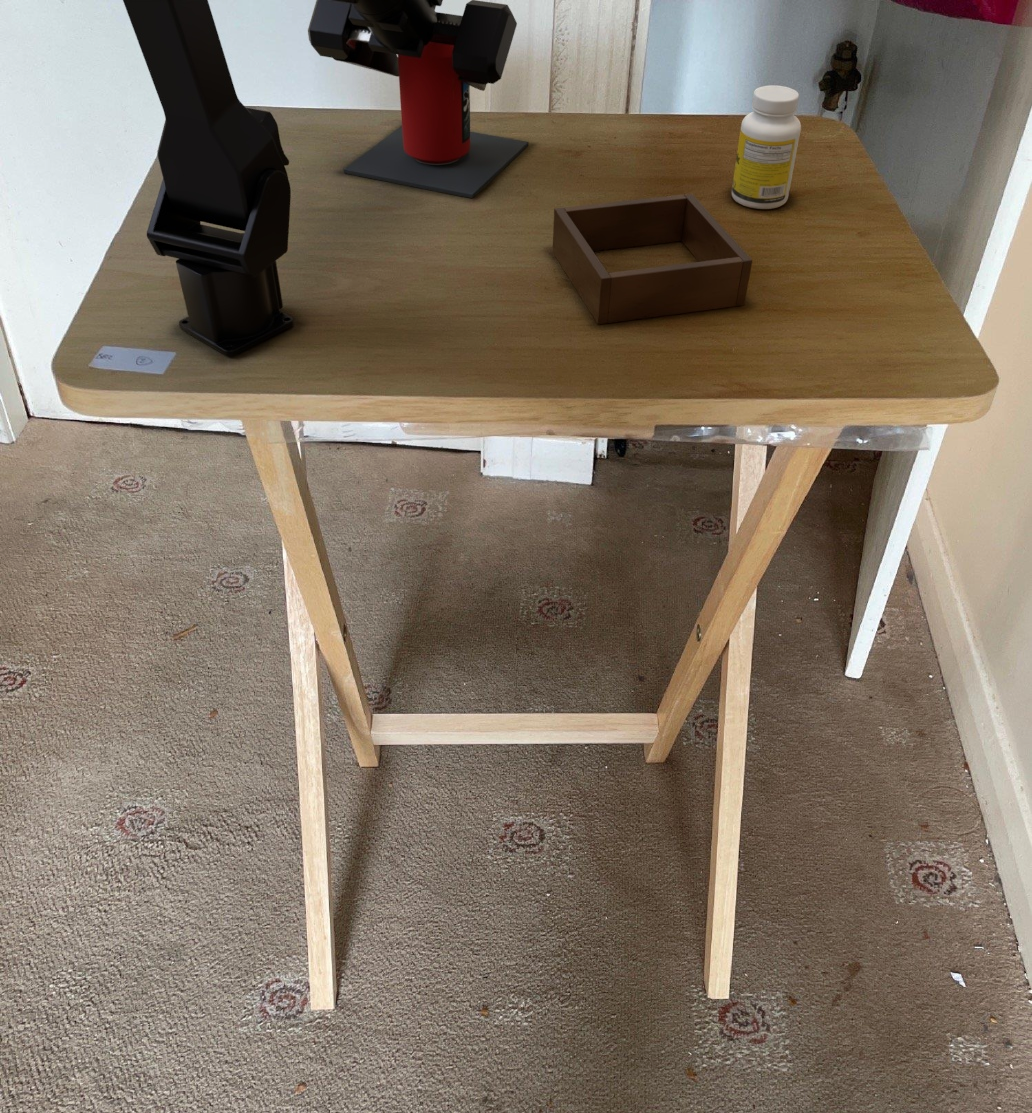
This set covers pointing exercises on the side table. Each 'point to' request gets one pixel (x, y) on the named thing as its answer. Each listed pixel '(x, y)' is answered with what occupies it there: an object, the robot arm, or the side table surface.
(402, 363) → the side table surface
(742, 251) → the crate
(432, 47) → the beverage can
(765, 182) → the supplement bottle
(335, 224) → the side table surface
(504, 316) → the side table surface
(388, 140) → the mat
